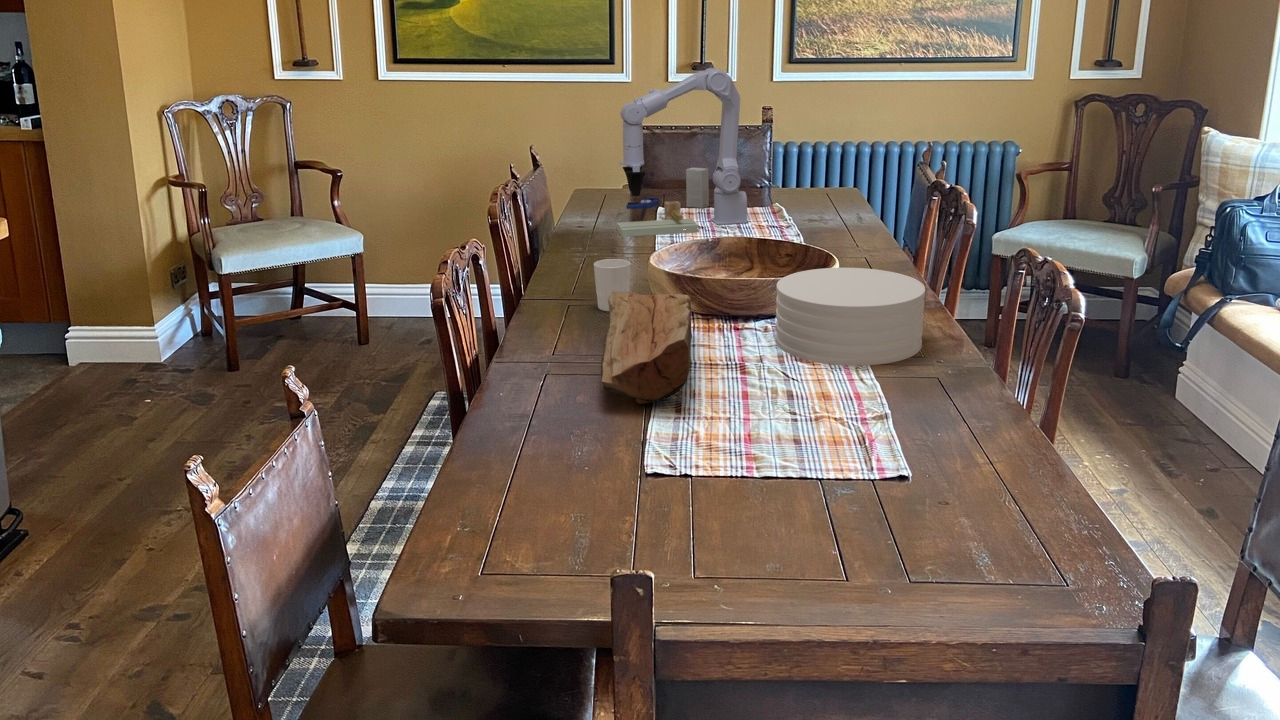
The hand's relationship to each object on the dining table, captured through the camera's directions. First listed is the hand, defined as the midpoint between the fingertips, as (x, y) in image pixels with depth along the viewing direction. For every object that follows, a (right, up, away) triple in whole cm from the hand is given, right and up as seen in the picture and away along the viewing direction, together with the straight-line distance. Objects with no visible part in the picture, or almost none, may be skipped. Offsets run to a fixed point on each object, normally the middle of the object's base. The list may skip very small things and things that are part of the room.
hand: (634, 193), depth 311 cm
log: (+3, -50, -112) cm, 123 cm away
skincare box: (+20, 0, +30) cm, 36 cm away
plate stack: (+42, -45, -100) cm, 118 cm away
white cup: (-4, -37, -74) cm, 83 cm away
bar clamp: (+2, -3, +24) cm, 24 cm away
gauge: (+12, -10, +2) cm, 15 cm away
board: (+7, -11, -2) cm, 13 cm away
